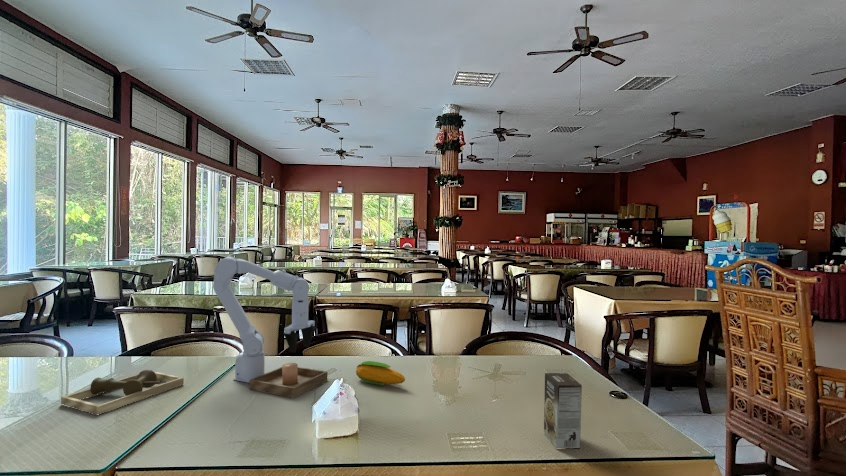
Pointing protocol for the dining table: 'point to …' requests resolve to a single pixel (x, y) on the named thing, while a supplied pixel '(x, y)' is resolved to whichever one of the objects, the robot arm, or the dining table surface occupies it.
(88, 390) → the oak frame
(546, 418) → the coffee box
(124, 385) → the kendama
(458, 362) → the dining table surface
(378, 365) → the corn
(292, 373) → the tan rounded cylinder
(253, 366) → the robot arm
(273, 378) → the walnut tray
